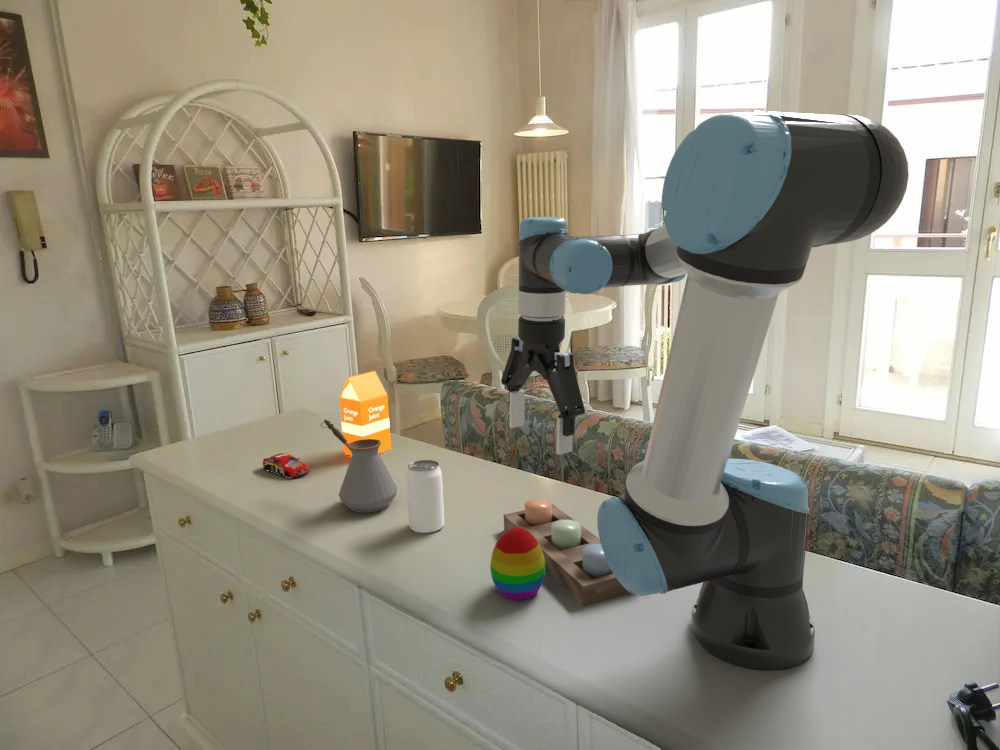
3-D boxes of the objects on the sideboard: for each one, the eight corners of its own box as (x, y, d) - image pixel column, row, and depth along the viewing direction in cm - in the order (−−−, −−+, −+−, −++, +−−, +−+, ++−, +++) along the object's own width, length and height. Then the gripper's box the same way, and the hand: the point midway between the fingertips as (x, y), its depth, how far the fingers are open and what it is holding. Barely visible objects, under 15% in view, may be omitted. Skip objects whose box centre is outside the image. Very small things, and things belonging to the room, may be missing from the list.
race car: (313, 475, 156) (311, 458, 155) (292, 482, 151) (290, 465, 151) (280, 463, 164) (279, 447, 163) (260, 470, 160) (258, 454, 159)
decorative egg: (505, 572, 108) (503, 513, 106) (553, 582, 105) (552, 521, 103) (482, 598, 101) (479, 535, 99) (533, 609, 98) (531, 545, 95)
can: (438, 535, 122) (435, 471, 120) (404, 533, 123) (400, 470, 121) (448, 520, 128) (445, 459, 126) (415, 518, 130) (412, 458, 127)
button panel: (641, 588, 102) (641, 570, 101) (583, 605, 98) (583, 586, 98) (553, 519, 127) (552, 504, 127) (504, 530, 123) (503, 514, 123)
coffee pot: (409, 504, 136) (404, 432, 133) (359, 522, 129) (353, 446, 126) (353, 478, 152) (347, 413, 149) (305, 493, 144) (299, 424, 141)
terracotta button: (557, 526, 120) (556, 506, 119) (532, 531, 118) (532, 511, 117) (544, 516, 124) (544, 497, 124) (520, 521, 122) (520, 502, 122)
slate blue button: (620, 577, 102) (620, 554, 101) (593, 584, 100) (593, 561, 99) (603, 563, 106) (603, 541, 106) (576, 570, 105) (576, 547, 104)
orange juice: (391, 450, 170) (386, 372, 166) (364, 460, 163) (358, 379, 159) (370, 445, 175) (364, 368, 170) (343, 454, 168) (336, 375, 164)
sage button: (586, 549, 111) (586, 528, 110) (560, 556, 109) (560, 534, 108) (571, 537, 115) (571, 517, 115) (546, 543, 114) (546, 523, 113)
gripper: (611, 328, 101) (605, 459, 108) (517, 300, 122) (516, 412, 128) (571, 334, 98) (567, 470, 104) (481, 305, 118) (482, 420, 124)
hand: (539, 438), depth 116 cm, fingers open, 13 cm apart
